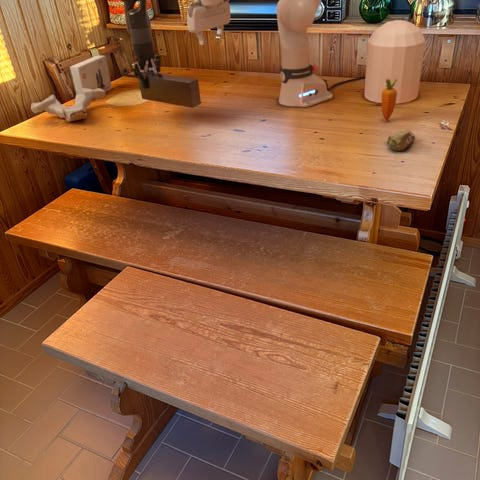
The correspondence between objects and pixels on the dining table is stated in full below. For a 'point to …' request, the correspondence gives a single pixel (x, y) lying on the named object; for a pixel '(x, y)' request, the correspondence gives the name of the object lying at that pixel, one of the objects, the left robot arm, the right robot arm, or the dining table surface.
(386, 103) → the carrot
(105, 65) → the skincare box
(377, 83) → the container
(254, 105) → the dining table surface
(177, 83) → the bar
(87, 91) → the animal horns
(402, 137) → the rock
